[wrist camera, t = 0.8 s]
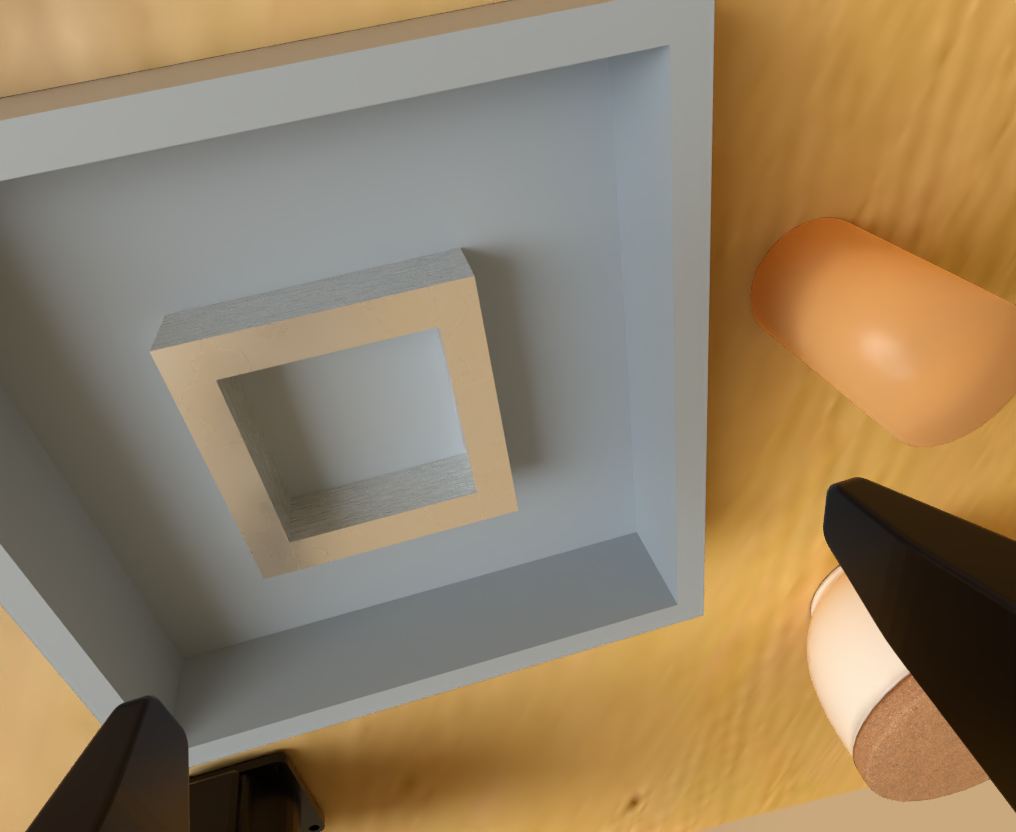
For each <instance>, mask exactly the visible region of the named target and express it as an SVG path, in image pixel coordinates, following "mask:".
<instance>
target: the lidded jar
mask: <svg viewBox="0 0 1016 832" xmlns="http://www.w3.org/2000/svg"><path fill="white" fill-rule="evenodd" d="M810 614H811V621H810V625H809V630H808V636H807V663H808V667H809V672H810V676H811V680H812V683H813V686H814V689H815V691H816V694H817V696H818V699H819V701H820V704H821V706H822V708H823V710H824V712H825V714H826V716H827V718H828V720H829V722H830V723H831V725H832V727H833V728H834V730H835V732H836V733H837V735H838V736H839V738H840V740H841V741H842V743H843V744H844V746H845V747H846V749H847V750H848V752H849V753H850V754H851V756H852V757H853V760H854V763H855V766H856V768H857V770H858V771H859V773H860V775H861V776H862V778H863V779H864V780H865V782H866V783H867V785H868V786H869V787H870V789H871V790H872V791H874V792H875V793H877V794H878V795H880V796H882V797H884V798H887V799H891V800H896V801H903V802H905V801H920V800H928V799H934V798H938V797H942V796H946V795H950V794H953V793H956V792H960V791H963V790H966V789H968V788H971V787H973V786H976V785H978V784H981V783H983V782H985V781H987V780H990V778H989V777H988V775H987V774H986V773H985V771H984V770H983V769H982V767H981V766H980V765H979V764H978V762H977V761H976V760H975V758H974V757H973V756H972V754H971V753H970V752H969V750H968V749H967V748H966V746H965V745H964V744H963V742H962V741H961V740H960V738H959V737H958V736H957V734H956V733H955V732H954V730H953V729H952V728H951V727H950V725H949V724H948V723H947V721H946V720H945V719H944V717H943V716H942V715H941V713H940V712H939V711H938V709H937V708H936V707H935V705H934V704H933V703H932V701H931V700H930V699H929V697H928V696H927V695H926V693H925V692H924V691H923V690H922V688H921V687H920V686H919V684H918V683H917V682H916V680H915V679H914V678H913V676H912V675H911V674H910V672H909V671H908V670H907V668H906V667H905V666H904V664H903V663H902V662H901V660H900V659H899V658H898V656H897V655H896V654H895V652H894V651H893V650H892V648H891V647H890V645H889V644H888V643H887V641H886V640H885V638H884V636H883V635H882V633H881V632H880V630H879V629H878V627H877V626H876V624H875V622H874V621H873V619H872V617H871V616H870V614H869V612H868V611H867V609H866V607H865V606H864V604H863V602H862V601H861V599H860V597H859V596H858V594H857V592H856V591H855V589H854V587H853V586H852V584H851V582H850V581H849V579H848V578H847V576H846V574H845V573H844V571H843V569H842V568H841V566H840V565H839V566H838V567H837V568H836V569H835V570H834V571H832V572H831V573H830V574H829V575H828V576H827V577H826V579H825V580H824V581H823V582H822V583H821V585H820V586H819V587H818V589H817V591H816V593H815V594H814V597H813V599H812V602H811V607H810Z"/></svg>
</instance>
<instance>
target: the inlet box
mask: <svg viewBox="0 0 1016 832" xmlns="http://www.w3.org/2000/svg"><path fill="white" fill-rule="evenodd" d="M714 11H715V0H508V1H503V2H498V3H493V4H488V5H482V6H477V7H472V8H467V9H461V10H456V11H451V12H446V13H441V14H435V15H430V16H425V17H420V18H415V19H409V20H404V21H399V22H394V23H389V24H383V25H378V26H373V27H368V28H362V29H357V30H352V31H347V32H342V33H336V34H331V35H326V36H321V37H316V38H310V39H305V40H300V41H295V42H289V43H284V44H279V45H274V46H269V47H263V48H258V49H253V50H248V51H243V52H237V53H232V54H227V55H222V56H217V57H211V58H206V59H201V60H196V61H190V62H185V63H180V64H175V65H170V66H164V67H159V68H154V69H149V70H144V71H138V72H133V73H128V74H123V75H117V76H112V77H107V78H102V79H97V80H91V81H86V82H81V83H76V84H71V85H65V86H60V87H55V88H50V89H45V90H39V91H34V92H29V93H24V94H18V95H13V96H8V97H3V98H0V605H1V606H2V607H3V608H4V609H5V611H6V612H7V613H8V614H9V615H10V616H11V618H12V619H13V620H14V621H15V622H16V624H17V625H18V626H19V627H20V628H21V630H22V631H23V632H24V633H25V634H26V635H27V637H28V638H29V639H30V640H31V641H32V643H33V644H34V645H35V646H36V647H37V648H38V650H39V651H40V652H41V653H42V654H43V656H44V657H45V658H46V659H47V660H48V662H49V663H50V664H51V665H52V666H53V667H54V669H55V670H56V671H57V672H58V673H59V675H60V676H61V677H62V678H63V679H64V681H65V682H66V683H67V684H68V685H69V686H70V688H71V689H72V690H73V691H74V692H75V694H76V695H77V696H78V697H79V698H80V700H81V701H82V702H83V703H84V704H85V705H86V707H87V708H88V709H89V710H90V711H91V713H92V714H93V715H94V716H95V717H96V719H97V720H98V721H99V722H100V723H101V724H102V725H103V723H104V722H105V721H106V719H107V718H108V717H109V715H110V714H111V712H112V711H113V710H114V709H115V708H116V707H117V706H118V705H120V704H122V703H124V702H127V701H130V700H133V699H136V698H140V697H143V696H146V695H153V696H156V697H158V698H159V699H160V700H161V702H162V703H163V704H164V705H165V706H166V708H167V709H168V710H169V711H170V713H171V714H172V715H173V716H174V717H175V719H176V720H177V721H178V722H179V724H180V725H181V726H182V727H183V729H184V731H185V733H186V736H187V740H188V747H189V767H193V766H196V765H199V764H203V763H206V762H209V761H213V760H216V759H220V758H223V757H226V756H230V755H233V754H236V753H240V752H243V751H247V750H250V749H253V748H257V747H260V746H264V745H267V744H270V743H274V742H277V741H280V740H284V739H287V738H291V737H294V736H297V735H301V734H304V733H307V732H311V731H314V730H318V729H321V728H324V727H328V726H331V725H334V724H338V723H341V722H345V721H348V720H351V719H355V718H358V717H362V716H365V715H368V714H372V713H375V712H378V711H382V710H385V709H389V708H392V707H395V706H399V705H402V704H405V703H409V702H412V701H416V700H419V699H422V698H426V697H429V696H432V695H436V694H439V693H443V692H446V691H449V690H453V689H456V688H460V687H463V686H466V685H470V684H473V683H476V682H480V681H483V680H487V679H490V678H493V677H497V676H500V675H503V674H507V673H510V672H514V671H517V670H520V669H524V668H527V667H530V666H534V665H537V664H541V663H544V662H547V661H551V660H554V659H558V658H561V657H564V656H568V655H571V654H574V653H578V652H581V651H585V650H588V649H591V648H595V647H598V646H601V645H605V644H608V643H612V642H615V641H618V640H622V639H625V638H628V637H632V636H635V635H639V634H642V633H645V632H649V631H652V630H656V629H659V628H662V627H666V626H669V625H672V624H676V623H679V622H683V621H686V620H689V619H693V618H696V617H699V616H703V615H704V563H705V508H706V453H707V397H708V342H709V287H710V232H711V177H712V121H713V66H714Z"/></svg>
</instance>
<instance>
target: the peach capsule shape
mask: <svg viewBox="0 0 1016 832" xmlns="http://www.w3.org/2000/svg"><path fill="white" fill-rule="evenodd" d="M751 308H752V312H753V315H754V317H755V319H756V321H757V322H758V324H759V325H760V326H761V327H762V328H763V329H764V330H765V331H766V332H768V333H769V334H770V335H771V336H772V337H774V338H775V339H776V340H777V341H778V342H780V343H781V344H782V345H783V346H785V347H786V348H787V349H788V350H789V351H791V352H792V353H793V354H794V355H795V356H797V357H798V358H799V359H800V360H802V361H803V362H804V363H805V364H806V365H808V366H809V367H810V368H811V369H812V370H814V371H815V372H816V373H817V374H818V375H820V376H821V377H822V378H823V379H825V380H826V381H827V382H828V383H829V384H831V385H832V386H833V387H834V388H835V389H837V390H838V391H839V392H840V393H842V394H843V395H844V396H845V397H846V398H848V399H849V400H850V401H851V402H852V403H854V404H855V405H856V406H857V407H859V408H860V409H861V410H862V411H863V412H865V413H866V414H867V415H868V416H869V417H871V418H872V419H873V420H874V421H876V422H877V423H878V424H879V425H880V426H882V427H883V428H884V429H885V430H886V431H888V432H889V433H890V434H891V435H893V436H894V437H895V438H896V439H897V440H899V441H901V442H902V443H904V444H907V445H910V446H915V447H933V446H938V445H943V444H946V443H949V442H952V441H955V440H957V439H959V438H961V437H964V436H965V435H967V434H969V433H971V432H973V431H974V430H976V429H977V428H979V427H980V426H982V425H983V424H985V423H986V422H987V421H989V420H990V419H991V418H992V417H993V416H994V415H996V414H997V413H998V412H999V411H1000V410H1001V409H1002V408H1003V407H1004V406H1005V405H1006V404H1007V403H1008V402H1009V400H1010V399H1011V398H1012V397H1013V396H1014V395H1015V393H1016V305H1015V304H1013V303H1011V302H1009V301H1007V300H1005V299H1003V298H1001V297H999V296H997V295H995V294H993V293H991V292H989V291H987V290H985V289H983V288H981V287H979V286H977V285H975V284H973V283H971V282H969V281H967V280H965V279H963V278H961V277H959V276H956V275H954V274H952V273H950V272H948V271H946V270H944V269H942V268H940V267H938V266H936V265H934V264H932V263H930V262H928V261H926V260H924V259H922V258H920V257H918V256H916V255H914V254H912V253H910V252H908V251H906V250H904V249H902V248H900V247H898V246H896V245H894V244H892V243H890V242H888V241H886V240H883V239H881V238H879V237H877V236H875V235H873V234H871V233H869V232H867V231H865V230H863V229H861V228H859V227H857V226H855V225H853V224H851V223H849V222H847V221H845V220H842V219H838V218H820V219H815V220H812V221H808V222H806V223H804V224H801V225H799V226H797V227H796V228H794V229H792V230H791V231H789V232H788V233H787V234H785V235H784V236H783V237H782V238H781V239H779V240H778V241H777V242H776V243H775V244H774V245H773V246H772V248H771V249H770V250H769V251H768V253H767V254H766V255H765V257H764V258H763V260H762V262H761V263H760V265H759V267H758V269H757V271H756V274H755V277H754V279H753V283H752V288H751Z"/></svg>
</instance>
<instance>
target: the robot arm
mask: <svg viewBox="0 0 1016 832" xmlns="http://www.w3.org/2000/svg"><path fill="white" fill-rule="evenodd" d="M823 531H824V536H825V539H826V542H827V544H828V546H829V548H830V549H831V551H832V553H833V554H834V556H835V558H836V559H837V561H838V563H839V564H840V566H841V568H842V569H843V571H844V573H845V574H846V576H847V578H848V579H849V581H850V582H851V584H852V586H853V587H854V589H855V591H856V592H857V594H858V596H859V597H860V599H861V601H862V602H863V604H864V606H865V607H866V609H867V611H868V612H869V614H870V616H871V617H872V619H873V621H874V622H875V624H876V626H877V627H878V629H879V630H880V632H881V633H882V635H883V636H884V638H885V640H886V641H887V643H888V644H889V645H890V647H891V648H892V650H893V651H894V652H895V654H896V655H897V656H898V658H899V659H900V660H901V662H902V663H903V664H904V666H905V667H906V668H907V670H908V671H909V672H910V674H911V675H912V676H913V678H914V679H915V680H916V682H917V683H918V684H919V686H920V687H921V688H922V690H923V691H924V692H925V693H926V695H927V696H928V697H929V699H930V700H931V701H932V703H933V704H934V705H935V707H936V708H937V709H938V711H939V712H940V713H941V715H942V716H943V717H944V719H945V720H946V721H947V723H948V724H949V725H950V727H951V728H952V729H953V730H954V732H955V733H956V734H957V736H958V737H959V738H960V740H961V741H962V742H963V744H964V745H965V746H966V748H967V749H968V750H969V752H970V753H971V754H972V756H973V757H974V758H975V760H976V761H977V762H978V764H979V765H980V766H981V767H982V769H983V770H984V771H985V773H986V774H987V775H988V777H989V778H990V779H991V781H992V782H993V783H994V785H995V786H996V787H997V789H998V790H999V791H1000V792H1001V794H1002V795H1003V796H1004V798H1005V799H1006V800H1007V802H1008V803H1009V804H1010V806H1011V807H1012V808H1013V809H1014V811H1015V812H1016V541H1015V540H1012V539H1010V538H1007V537H1005V536H1003V535H1000V534H998V533H995V532H993V531H991V530H988V529H986V528H983V527H981V526H978V525H976V524H974V523H971V522H969V521H966V520H964V519H962V518H959V517H957V516H954V515H952V514H949V513H947V512H945V511H942V510H940V509H937V508H935V507H933V506H930V505H928V504H925V503H923V502H921V501H918V500H916V499H913V498H911V497H908V496H906V495H904V494H901V493H899V492H896V491H894V490H892V489H889V488H887V487H884V486H882V485H879V484H877V483H875V482H872V481H870V480H867V479H864V478H860V477H855V478H851V479H848V480H845V481H841V482H838V483H835V484H833V485H831V486H830V487H829V489H828V490H827V496H826V505H825V514H824V523H823ZM324 827H325V818H324V815H323V814H322V812H321V810H320V809H319V807H318V805H317V804H316V802H315V801H314V799H313V797H312V796H311V794H310V792H309V791H308V789H307V787H306V786H305V784H304V782H303V781H302V779H301V777H300V776H299V774H298V772H297V771H296V769H295V767H294V766H293V764H292V762H291V761H290V759H289V757H288V756H287V755H285V754H282V753H277V754H272V755H269V756H265V757H262V758H259V759H255V760H252V761H248V762H245V763H242V764H238V765H235V766H232V767H228V768H225V769H222V770H218V771H215V772H211V773H208V774H205V775H201V776H198V777H195V778H191V779H189V747H188V740H187V736H186V733H185V731H184V729H183V727H182V726H181V725H180V724H179V722H178V721H177V720H176V719H175V717H174V716H173V715H172V714H171V713H170V711H169V710H168V709H167V708H166V706H165V705H164V704H163V703H162V702H161V700H160V699H159V698H158V697H156V696H153V695H146V696H143V697H140V698H136V699H133V700H130V701H127V702H124V703H122V704H120V705H118V706H117V707H116V708H115V709H114V710H113V711H112V712H111V714H110V715H109V717H108V718H107V719H106V721H105V722H104V723H103V725H102V726H101V728H100V729H99V730H98V732H97V733H96V735H95V736H94V737H93V739H92V740H91V741H90V743H89V744H88V746H87V747H86V748H85V750H84V751H83V753H82V754H81V755H80V757H79V758H78V759H77V761H76V762H75V764H74V765H73V766H72V768H71V769H70V771H69V772H68V773H67V775H66V776H65V777H64V779H63V780H62V782H61V783H60V784H59V786H58V787H57V789H56V790H55V791H54V793H53V794H52V795H51V797H50V798H49V800H48V801H47V802H46V804H45V805H44V807H43V808H42V809H41V811H40V812H39V813H38V815H37V816H36V818H35V819H34V820H33V822H32V823H31V825H30V826H29V827H28V829H27V830H26V831H25V832H320V831H322V830H323V829H324Z"/></svg>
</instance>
